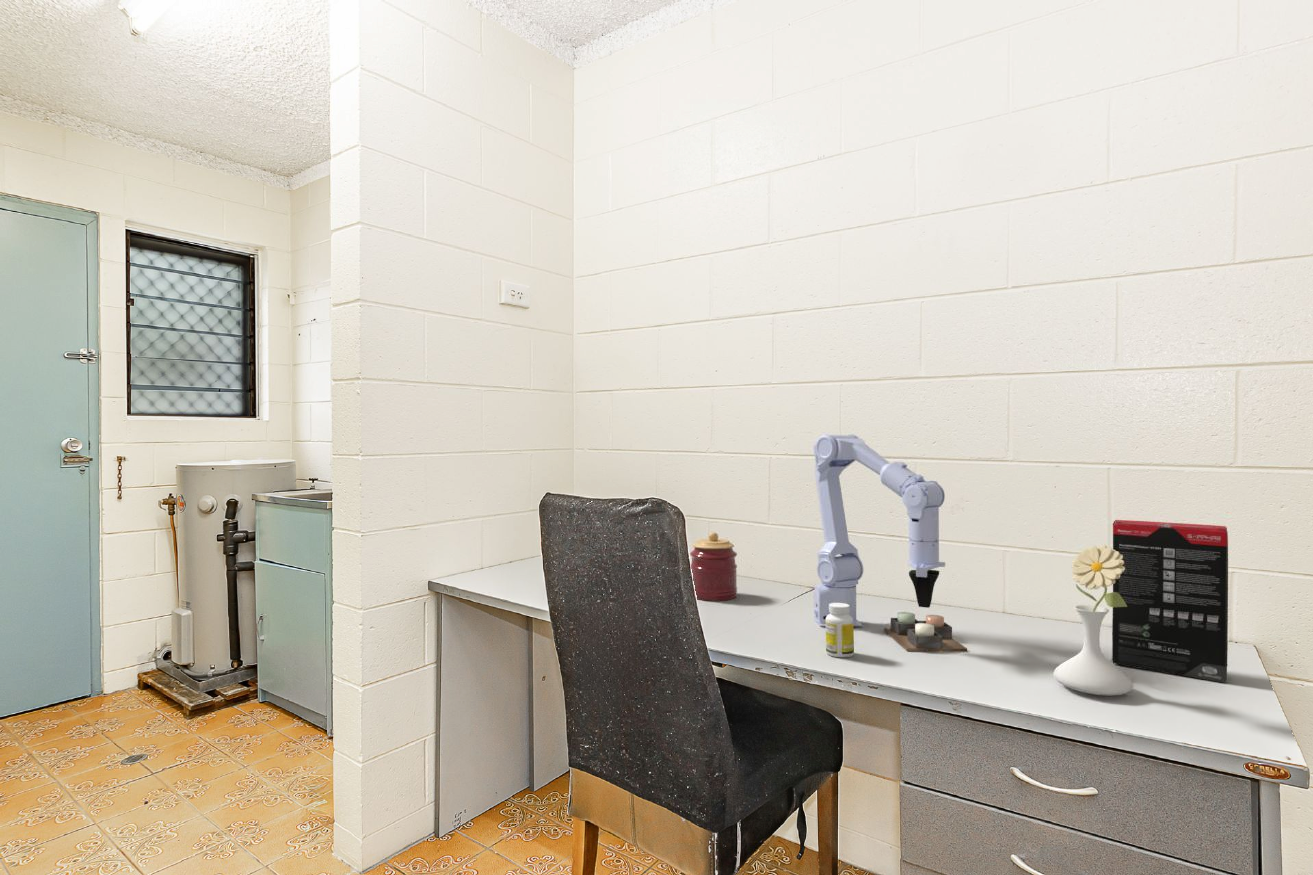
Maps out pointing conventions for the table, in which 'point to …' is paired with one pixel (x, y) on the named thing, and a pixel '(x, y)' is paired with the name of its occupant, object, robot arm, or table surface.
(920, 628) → the cream button
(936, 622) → the terracotta button
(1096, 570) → the flower in vase
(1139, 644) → the graphics card box
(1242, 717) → the table surface
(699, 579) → the canister
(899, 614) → the sage button
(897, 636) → the button panel
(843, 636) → the supplement bottle
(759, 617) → the table surface
